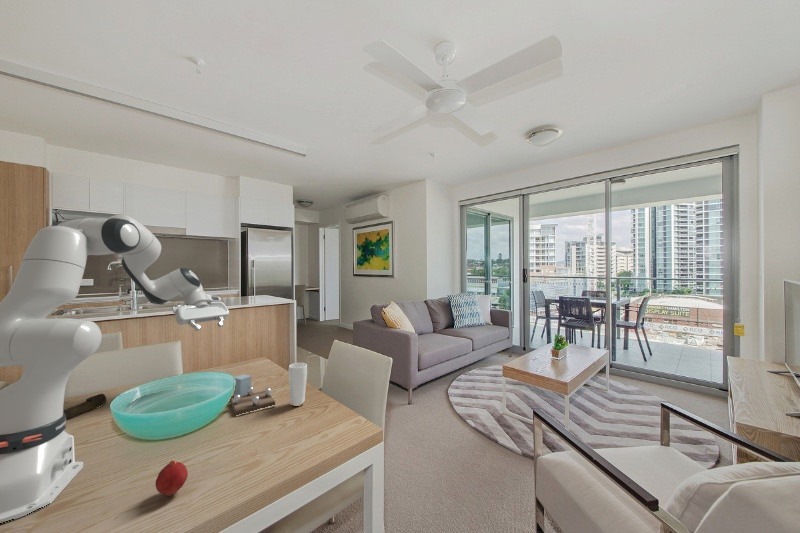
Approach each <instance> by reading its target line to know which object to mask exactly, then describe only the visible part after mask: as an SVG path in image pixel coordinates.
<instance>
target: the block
mask: <svg viewBox="0 0 800 533" xmlns="http://www.w3.org/2000/svg"><path fill="white" fill-rule="evenodd" d="M234 378H235V380H236V385H235V391H234V395H236V394H240V396H243V395H247V389H248V387H252V376H251V375H249V374H240V375H237V376H234V377H233V379H234Z"/></svg>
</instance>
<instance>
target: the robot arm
mask: <svg viewBox="0 0 800 533" xmlns="http://www.w3.org/2000/svg"><path fill="white" fill-rule="evenodd" d="M161 252H162V244H161V241H159V239H158V238H157V237H156V236H155V235H154V233H152V231H150V230H149V229H148V228H147V227H146V226H145V225H143V224H142V223H141V222H140V221H137V220H136V219H134V218H133V217H131V216H129V215H127V214H114V215H111V216H109V217H107V218H98V217H97V218H96V217H95V218H94V217H91V218H90V217H88V218H87V217H86V218H78V219H65V220H61V221H57V222H55V223H53V224H51V225H49V226H46V227H43V228H41V229H40V230H39V231H37V232H36V234H35V235H34V237H33V238H32V240H31V241H30V243H29V245H28V246H27V247H26V250H25V252H24V254H23V257H22V259H21V261H20V266H19V268H18V270H17V273H16V276H15V278H14V281H13V283H12V285H11V288H10V289H9V291H8V292H7V294H6V295H5V297H4V298H3V299H2V300H1V301H0V368H5V367H23V368H22V374H21V377H20V378H19V379H18V380H17V381H15V382H13V383H10V384H9V385H6V386H5V387H3V388H2V389H0V522H1V521H8V520H11V519H14V520H17V519H19V518H22V517H24V516H28V515H30V514H32V513H33V512H32V511H34V510H36V509H38V508H41V507H43V508H45V507H47V506H48V505H47V504H49V503H50V504H51V503H52V502H54V500H55V499H56V498H58V496H59V494H61V492H62V491H63V490H64V489H65V488H66V487H67V486H68V485H69V483H71V482H72V480H73V479H74V478H75V477H76V475H78V473H80V472H81V470H82V469H83V468H84V462H83V461H75V439H74V438H75V436H74V435H72V434H70V433H68V432H67V431H66V430H65V429H66V423H67V419H66V415H65V413H63V410H64V404H65V402H64V401H65V394H66V393H65V392H66V386H67V383H68V381H69V378H70V376H71V374H72V373H73V372H74V370H75V369H76V368H77V367H78V366H79V365H80V364H81V363H83V362H84V361H85V360H86V359H88V358H90V357H91V356H92V355H94V353H95V352H96V351H98V349H99V347H100V345H101V343H102V340H103V339H102V338H103V333H102V331H101V329H100V326H99V325H98V324H97V323H96V322H94V321H92V320H87V319H86V320H85V319H78V318H72V317H71V318H70V317H67V318H63V317H62V318H61V317H60V318H59V317H58V318H47V317H49V316H48V315H49V314H51V313H52V312H53V311H54V310H56V309H57V308H60V307H62V306H64V305H66V304H68V303H69V304H70V303H71V302H72V301H73V300H74V299H75V298H76V297H77V296H78V294H79V291H80V287H81V284H82V280H83V277H84V273H85V269H86V266H87V260H88V256H104V255H105V256H106V255H112V254H113V255H114V254H122V256H123V258H122V259H121V261H120V263H121V265H122V268H123V270H124V271H125V273H126V274H127V275H128V277H129V278H130V280H132V281H133V283H134V284H135V285H136V286H137V287H138V288H139V290H140V291H141V292H142V294H143V295H144V297H145V299H146V300H147V301H148V302H150V304H154V305H164V304H165V303H167V302H169V301H170V300H172V299H173V298H175V297H178V296H180V297H181V298H182V299H183V304H175V305H174V306H173V307H172V308H171V310H172V312H173V314H174V317H175V322H176V323H177V324H178V325H179V326H185V325H188V326H190V327H191V328H193V329H194V331H195V332H199V331H200V330H201V329H202V327H201V325H200V323H204V322H211V321H217V322H218V323H217V327H218V328H222V327H224V325H225V324H224V322H223V321H224V320H226V319H227V318H228V317H229V315H230V311H229V309H228V307H227V305H226V304H225V303H224V302H223V301H222V298H221V297H220V296H215V295H211V294H208V293H206V292H205V290H204V287H203V285H202V283H201V280H200V278H199V276H198V275H197V273H196V271H195V272H194V271H193V269H190V268H186V267H179V268H177V269H175V270H173V271H171V272H170V271H169V273H167V274H164V275H163V276H161V277H159V278H156V279H150V278H149V277H148V276H147V274H146V273H145V271H146V270H147V269H148V267H150V266H151V265H153V263H155V262H156V261H157V260H158V259H159V257H160V255H161ZM197 323H198V324H197ZM50 504H49V505H50ZM46 505H47V506H46ZM44 506H45V507H44ZM41 509H42V508H41ZM31 512H32V513H31ZM29 513H30V514H29ZM27 514H28V515H27ZM11 521H12V520H11ZM8 522H9V521H8Z"/></svg>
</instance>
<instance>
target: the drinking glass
mask: <svg viewBox="0 0 800 533" xmlns="http://www.w3.org/2000/svg"><path fill="white" fill-rule="evenodd" d="M307 378H308V364H307V363H305V362H295V363H291V364H289V366H288V386H289V388H288V390H289V405H290V404H292V405H299V404H302V403H303V402H304V401H305V400H306V390H307V389H306V388H307V380H308V379H307Z"/></svg>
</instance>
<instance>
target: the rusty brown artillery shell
mask: <svg viewBox="0 0 800 533" xmlns="http://www.w3.org/2000/svg"><path fill="white" fill-rule="evenodd" d="M85 400H86V401H83V402H81V403H78V404H76V405H74V406H71V407H68V408H66V409H63V413H65V415H66V420H69V419H71V418H74V417H76V416H78V415H80V414H82V413H85V412H87V411H88V410H92V411H94V410H93V409H95V410H96V408H97V407H99V406H101V405H102V406H104V405H106V404H107V396H106V395H105V394H104V393H99V394H96V395H93V396H90V397H88V398H86V399H85ZM103 404H104V405H103ZM102 406H101V407H102ZM99 408H100V407H99ZM97 409H98V408H97ZM88 412H89V411H88Z"/></svg>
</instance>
